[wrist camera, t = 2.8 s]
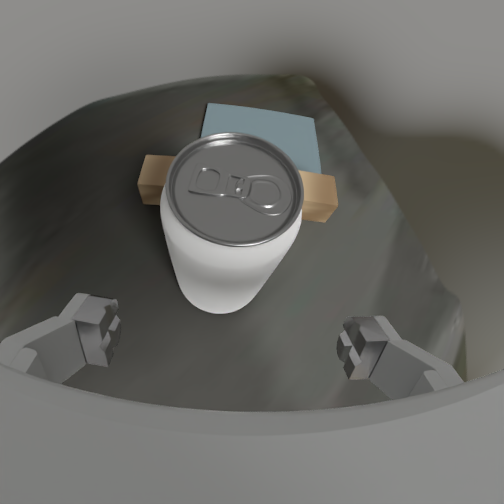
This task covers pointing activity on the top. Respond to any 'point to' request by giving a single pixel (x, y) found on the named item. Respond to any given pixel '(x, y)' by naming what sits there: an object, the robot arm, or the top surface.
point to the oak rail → (315, 185)
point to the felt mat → (268, 131)
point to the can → (229, 217)
